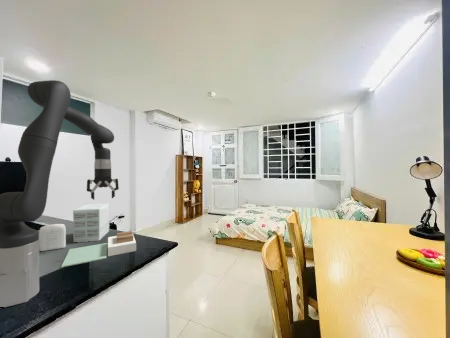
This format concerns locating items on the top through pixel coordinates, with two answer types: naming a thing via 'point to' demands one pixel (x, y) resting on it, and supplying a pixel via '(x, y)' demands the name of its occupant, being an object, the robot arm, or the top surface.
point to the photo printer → (52, 237)
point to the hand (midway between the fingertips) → (103, 198)
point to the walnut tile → (124, 237)
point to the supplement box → (90, 222)
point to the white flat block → (120, 246)
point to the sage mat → (85, 254)
